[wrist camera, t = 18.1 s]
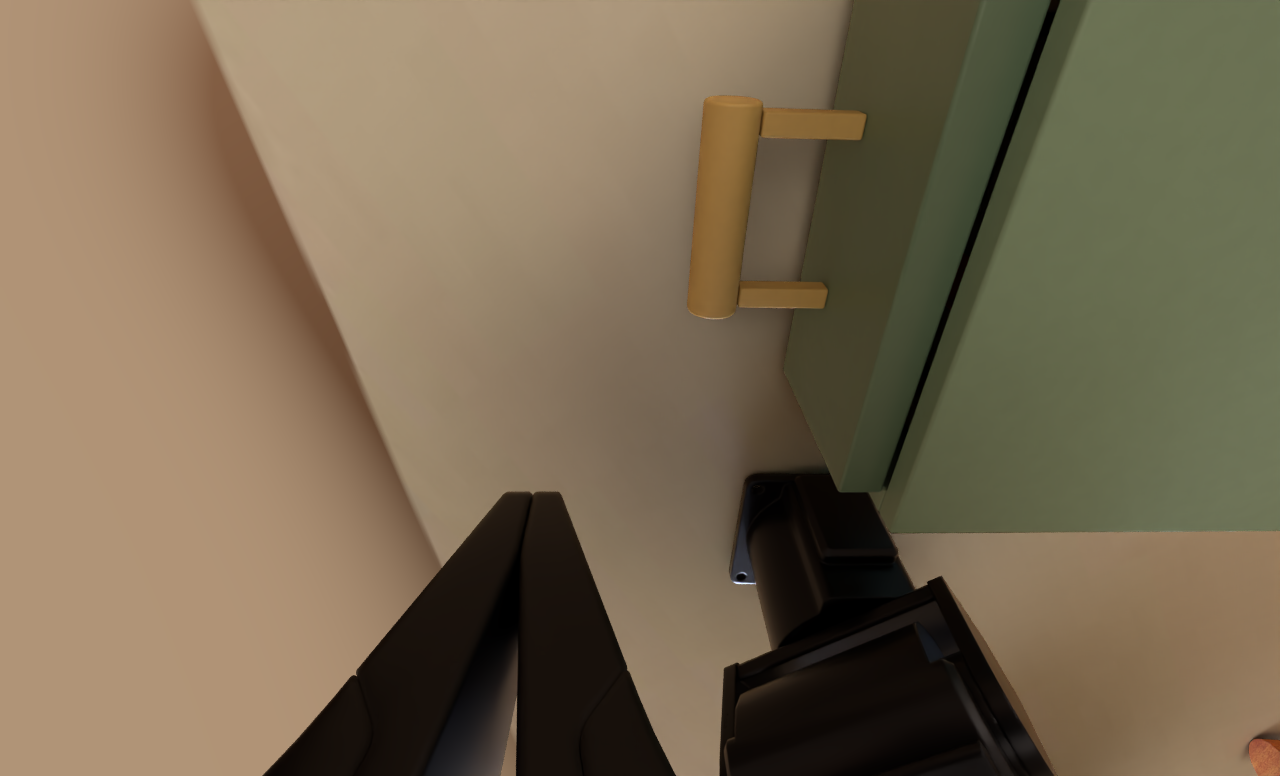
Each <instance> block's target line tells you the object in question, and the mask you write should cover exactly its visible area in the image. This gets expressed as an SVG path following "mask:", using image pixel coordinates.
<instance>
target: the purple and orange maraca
mask: <svg viewBox="0 0 1280 776" xmlns="http://www.w3.org/2000/svg"><path fill="white" fill-rule="evenodd" d="M1249 755H1250V759H1251V763H1252V765H1253V767H1254V769H1255V771H1256V773H1257V775H1258V776H1280V740H1269V739H1253V740H1252V741H1251V743H1250V744H1249Z"/></svg>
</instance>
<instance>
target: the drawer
mask: <svg viewBox="0 0 1280 776" xmlns="http://www.w3.org/2000/svg"><path fill="white" fill-rule="evenodd" d="M1059 3H1060V0H854V4H853V10H852V15H851V20H850V25H849V30H848V35H847V41H846V46H845V51H844V56H843V61H842V67H841V72H840V77H839V82H838V87H837V92H836V98H835V103H834V108H833V110H820V109H785V108H763V103H762V101H760V100H758V99H755V98H750V97H743V96H711V97H708V98H706V99H705V101H704V106H703V118H702V130H701V142H700V154H699V167H698V179H697V191H696V203H695V215H694V227H693V239H692V251H691V263H690V276H689V288H688V300H687V307H688V310H689V311H690V312H691V313H692V314H694V315H696V316H698V317H701V318H705V319H724V318H728V317H730V316H732V315H733V314H734V312H735V311H736V305H738V307H741V308H795V310H794V315H793V320H792V325H791V331H790V336H789V341H788V346H787V351H786V357H785V362H784V367H783V370H784V373H785V375H786V377H787V379H788V381H789V384H790V386H791V388H792V390H793V392H794V395H795V397H796V399H797V401H798V403H799V406H800V408H801V410H802V412H803V415H804V417H805V419H806V421H807V423H808V426H809V428H810V430H811V432H812V434H813V437H814V439H815V441H816V443H817V445H818V448H819V450H820V452H821V454H822V456H823V459H824V461H825V463H826V465H827V468H828V470H829V472H830V474H831V476H832V479H833V481H834V483H835V485H836V487H837V490H838V491H839V492H880V491H881V490H882V487H883V484H884V481H885V478H886V476H887V473H888V470H889V467H890V464H891V461H892V458H893V455H894V452H895V450H896V447H897V444H898V441H899V438H900V435H901V432H902V429H903V426H904V424H905V425H906V426H907V428H908V429H909V427H910V424H911V421H912V418H913V416H914V413H915V410H916V407H917V404H918V402H919V399H920V396H921V393H922V390H923V387H924V385H925V382H926V379H927V376H928V373H929V370H930V368H931V366H930V365H929V364H928V363H927V361H926V360H927V357H928V354H929V351H930V348H931V346H932V343H933V340H934V337H935V334H936V331H937V328H938V325H939V322H940V320H941V317H942V314H943V311H944V308H945V305H946V302H947V299H948V296H949V294H950V291H951V288H952V285H953V282H954V279H955V276H956V273H957V270H958V268H959V265H960V262H961V259H962V256H963V253H964V250H965V247H966V244H967V242H968V239H969V236H970V233H971V230H972V227H973V224H974V221H975V218H976V216H977V213H978V210H979V207H980V204H981V201H982V198H983V195H984V192H985V190H986V187H987V184H988V181H989V178H990V175H991V172H992V169H993V166H994V164H995V161H996V158H997V155H998V152H999V149H1000V146H1001V143H1002V140H1003V138H1004V135H1005V132H1006V129H1007V126H1008V123H1009V120H1010V117H1011V114H1012V112H1013V109H1014V106H1015V103H1016V100H1017V97H1018V94H1019V91H1020V88H1021V86H1022V83H1023V80H1024V77H1025V74H1026V71H1027V68H1028V65H1029V62H1030V60H1031V57H1032V54H1033V51H1034V48H1035V45H1036V42H1037V39H1038V36H1039V34H1040V31H1050V28H1051V25H1052V22H1053V20H1054V17H1055V14H1056V11H1057V8H1058V5H1059ZM759 135H760V136H761V137H762V138H784V139H822V140H827V144H826V149H825V155H824V160H823V165H822V170H821V175H820V180H819V186H818V191H817V196H816V201H815V206H814V212H813V217H812V222H811V227H810V232H809V237H808V243H807V248H806V253H805V258H804V263H803V268H802V274H801V279H800V282H783V281H740V275H741V267H742V260H743V252H744V245H745V237H746V230H747V222H748V215H749V207H750V200H751V192H752V185H753V177H754V170H755V162H756V155H757V147H758V140H759Z"/></svg>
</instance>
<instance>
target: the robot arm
mask: <svg viewBox="0 0 1280 776" xmlns="http://www.w3.org/2000/svg"><path fill="white" fill-rule="evenodd" d="M757 485H760V486H759V487H756V488H754V486H757ZM729 573H730V578H731V580H732V582H734V583H737V584H756V587H757V592H758V596H759V600H760V604H761V608H762V612H763V616H764V621H765V625H766V629H767V633H768V637H769V641H770V645H771V650H772V651H770V652H767V653H765V654H763V655H760V656H758V657H756V658H753V659H751V660H748V661H746V662H744V663H741V664H739V663H735V664H732V665H730V666H728V667H725V668H724V678H723V699H722V720H721V742H720V776H1058V775H1057V773H1056V771H1055V769H1054V767H1053V765H1052V763H1051V761H1050V759H1049V757H1048V755H1047V753H1046V751H1045V749H1044V747H1043V745H1042V743H1041V741H1040V739H1039V737H1038V735H1037V733H1036V731H1035V729H1034V727H1033V725H1032V723H1031V721H1030V719H1029V717H1028V715H1027V713H1026V711H1025V709H1024V707H1023V705H1022V703H1021V701H1020V699H1019V698H1018V696H1017V694H1016V692H1015V691H1014V689H1013V687H1012V686H1011V684H1010V682H1009V681H1008V679H1007V677H1006V675H1005V674H1004V672H1003V670H1002V669H1001V667H1000V665H999V664H998V662H997V660H996V659H995V657H994V655H993V653H992V652H991V650H990V648H989V647H988V645H987V643H986V642H985V640H984V638H983V637H982V635H981V634H980V632H979V631H978V629H977V628H976V626H975V625H974V623H973V622H972V620H971V619H970V617H969V616H968V614H967V613H966V611H965V610H964V608H963V607H962V605H961V604H960V602H959V601H958V599H957V598H956V596H955V595H954V593H953V592H952V590H951V589H950V588H949V586H948V585H947V583H946V582H945V580H944V579H943V577H942V576H939V577H937V578H935V579H932V580H930V581H928V582H927V584H928V585H925V586H923V587H921V588H918V589H915V587H914V585H913V583H912V581H911V579H910V577H909V575H908V573H907V571H906V569H905V567H904V565H903V563H902V561H901V559H900V557H899V555H898V549H897V547H896V545H895V543H894V541H893V539H892V537H891V535H890V533H889V531H888V529H887V527H886V526H885V523H884V521H883V519H882V517H881V515H880V511H878V510H877V508H876V506H875V504H874V502H873V500H872V498H871V496H870V494H869V493H868V492H839V491H838V490H837V487H836V485H835V483H834V481H833V479H832V476H831V474H756V475H752V476H749V477H748V478H747V479H746V480H745V482H744V487H743V492H742V498H741V504H740V510H739V516H738V521H737V527H736V533H735V539H734V545H733V551H732V556H731V562H730V568H729ZM356 675H357V676H355V675H353V676H351V677H350V678H349V680H348V681H347V682H346V683H345V684H344V686H343V687H342V688H341V689H340V690H339V692H338V693H337V694H336V695H335V697H334V698H333V699H332V700H331V701H330V702H329V703H328V705H327V706H326V707H325V708H324V709H323V710H322V711H321V713H320V714H319V715H318V716H317V717H316V718H315V720H314V721H313V722H312V723H311V724H310V725H309V726H308V727H307V729H306V730H305V731H304V732H303V733H302V734H301V735H300V737H299V738H298V739H297V740H296V741H295V742H294V743H293V744H292V745H291V746H290V747H289V748H288V749H287V750H286V752H285V753H284V754H283V755H282V756H281V757H280V758H279V759H278V760H277V761H276V762H275V763H274V764H273V765H272V766H271V767H270V768H269V769H268V770H267V771H266V772H265V774H264V775H263V776H500V774H501V769H502V765H503V760H504V755H505V750H506V745H507V740H508V735H509V731H510V726H511V721H512V716H513V711H514V706H515V701H516V697H517V745H516V751H517V752H516V776H676V775H675V773H674V771H673V769H672V767H671V765H670V763H669V761H668V759H667V757H666V755H665V753H664V751H663V749H662V747H661V745H660V743H659V741H658V739H657V737H656V735H655V733H654V731H653V729H652V726H651V724H650V721H649V719H648V717H647V714H646V712H645V710H644V707H643V705H642V703H641V700H640V698H639V695H638V693H637V690H636V688H635V685H634V682H633V680H632V677H631V675H630V672H629V671H627V665H626V662H625V660H624V657H623V655H622V652H621V649H620V647H619V644H618V642H617V639H616V636H615V634H614V631H613V628H612V626H611V623H610V621H609V618H608V615H607V613H606V610H605V608H604V605H603V602H602V600H601V597H600V594H599V592H598V589H597V587H596V584H595V581H594V579H593V576H592V574H591V571H590V568H589V566H588V563H587V561H586V558H585V555H584V553H583V550H582V547H581V545H580V542H579V540H578V537H577V534H576V532H575V529H574V527H573V524H572V521H571V519H570V516H569V513H568V511H567V508H566V506H565V503H564V500H563V498H562V495H561V494H560V493H559V492H535V493H534V495H532V493H530V492H506V493H505V494H503V495H502V497H501V498H500V499H499V500H498V501H497V503H496V504H495V505H494V506H493V507H492V509H491V510H490V511H489V512H488V513H487V515H486V516H485V517H484V518H483V519H482V521H481V522H480V523H479V524H478V525H477V527H476V528H475V529H474V530H473V531H472V533H471V534H470V535H469V536H468V537H467V538H466V540H465V541H464V542H463V543H462V544H461V546H460V547H459V548H458V549H457V550H456V552H455V553H454V554H453V555H452V556H451V558H450V559H449V560H448V561H447V562H446V564H445V565H444V566H443V567H442V568H441V570H440V571H439V572H438V573H437V574H436V576H435V577H434V578H433V579H432V580H431V582H430V583H429V584H428V585H427V586H426V588H425V589H424V590H423V592H421V594H420V595H419V596H418V597H417V599H416V600H415V601H414V602H413V603H412V605H411V606H410V607H409V608H408V609H407V611H406V612H405V613H404V614H403V615H402V616H401V618H400V619H399V620H398V621H397V622H396V624H395V625H394V626H393V627H392V628H391V630H390V631H389V632H388V633H387V634H386V636H385V637H384V638H383V639H382V640H381V642H380V643H379V644H378V645H377V646H376V648H375V649H374V650H373V651H372V652H371V654H370V655H369V656H368V658H366V660H365V661H364V662H363V663H362V664H361V666H360V667H359V668H358V669H357V671H356Z"/></svg>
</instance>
